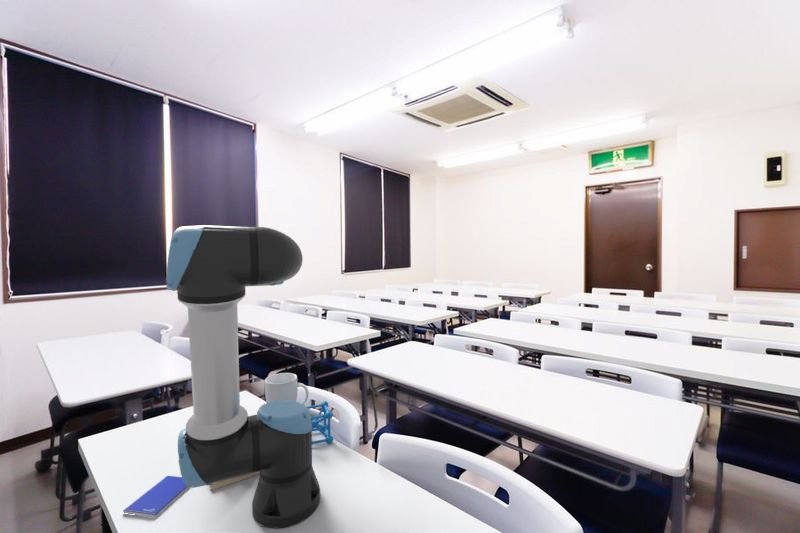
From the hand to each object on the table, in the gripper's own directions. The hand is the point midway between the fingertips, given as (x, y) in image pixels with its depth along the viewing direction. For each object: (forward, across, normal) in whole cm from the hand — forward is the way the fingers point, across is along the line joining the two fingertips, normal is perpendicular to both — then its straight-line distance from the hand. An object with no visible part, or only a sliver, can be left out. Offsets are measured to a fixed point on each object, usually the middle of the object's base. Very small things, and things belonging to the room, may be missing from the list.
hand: (220, 370), depth 113 cm
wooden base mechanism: (+21, -15, +3) cm, 26 cm away
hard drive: (+22, -20, +19) cm, 35 cm away
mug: (+21, +2, -21) cm, 30 cm away
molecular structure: (+22, -22, -21) cm, 37 cm away
